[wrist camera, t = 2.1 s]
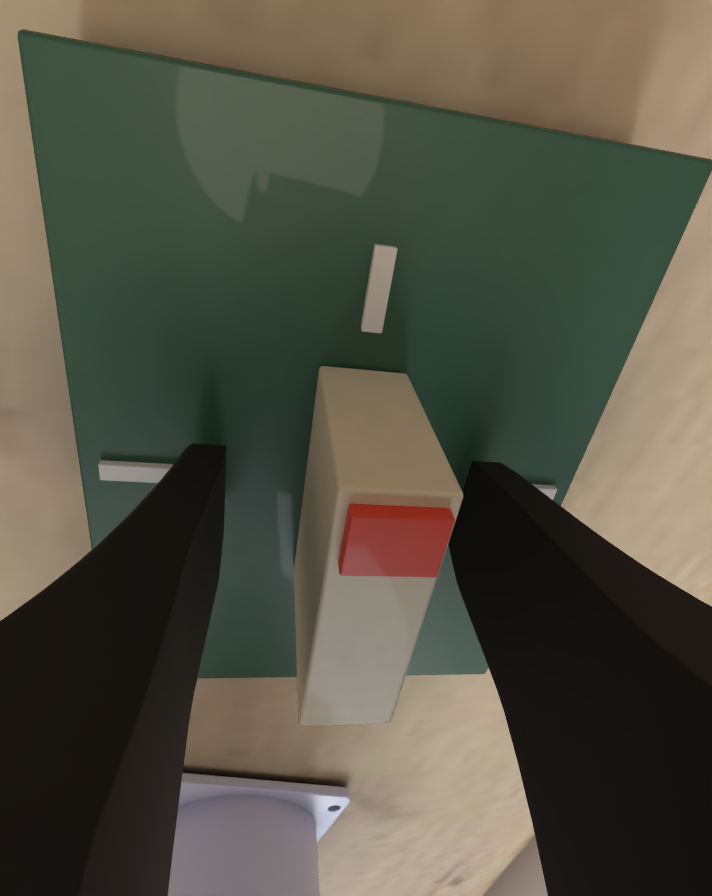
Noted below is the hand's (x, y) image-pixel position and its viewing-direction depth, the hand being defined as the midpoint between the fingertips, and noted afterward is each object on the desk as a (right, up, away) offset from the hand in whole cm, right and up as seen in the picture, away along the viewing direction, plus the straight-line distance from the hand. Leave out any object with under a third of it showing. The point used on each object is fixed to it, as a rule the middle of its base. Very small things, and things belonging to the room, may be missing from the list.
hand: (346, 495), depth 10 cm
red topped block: (0, 0, 0) cm, 0 cm away
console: (0, +2, +2) cm, 3 cm away
